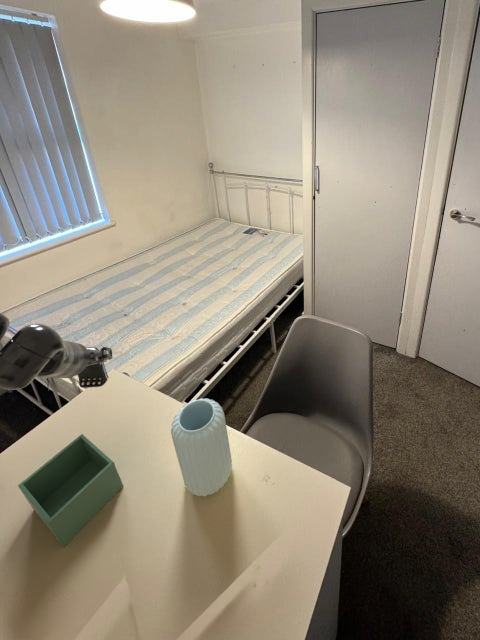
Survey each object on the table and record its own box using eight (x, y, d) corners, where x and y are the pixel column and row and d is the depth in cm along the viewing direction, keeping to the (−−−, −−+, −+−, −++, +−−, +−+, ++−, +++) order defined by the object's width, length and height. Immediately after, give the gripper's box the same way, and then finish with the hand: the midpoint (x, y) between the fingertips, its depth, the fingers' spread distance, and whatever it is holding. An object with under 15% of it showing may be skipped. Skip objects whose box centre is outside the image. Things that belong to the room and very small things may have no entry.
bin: (33, 509, 73) (17, 485, 69) (92, 457, 84) (82, 433, 80) (63, 547, 67) (48, 523, 63) (123, 486, 77) (113, 462, 73)
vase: (178, 472, 80) (161, 412, 71) (219, 442, 87) (209, 384, 77) (197, 514, 72) (180, 452, 63) (241, 478, 79) (232, 417, 69)
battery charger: (75, 391, 84) (62, 358, 79) (84, 379, 87) (71, 347, 82) (103, 389, 84) (91, 356, 79) (110, 377, 87) (99, 345, 83)
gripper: (99, 333, 73) (116, 340, 88) (22, 351, 68) (54, 355, 83) (102, 367, 71) (119, 368, 85) (23, 388, 66) (56, 386, 80)
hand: (87, 362), depth 84 cm, fingers closed on battery charger, 7 cm apart
